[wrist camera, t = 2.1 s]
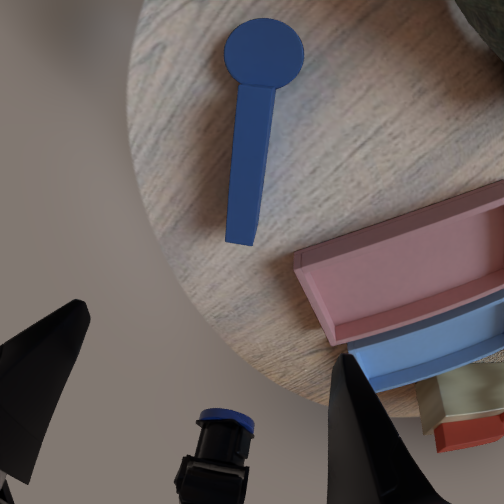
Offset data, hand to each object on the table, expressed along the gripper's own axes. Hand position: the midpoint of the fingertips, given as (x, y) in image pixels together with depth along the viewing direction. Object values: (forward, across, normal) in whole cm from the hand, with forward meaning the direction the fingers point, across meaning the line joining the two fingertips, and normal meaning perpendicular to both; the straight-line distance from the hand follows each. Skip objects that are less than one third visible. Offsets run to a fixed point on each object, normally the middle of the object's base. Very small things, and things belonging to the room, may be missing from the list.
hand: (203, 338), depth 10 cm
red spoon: (+4, -25, +14) cm, 29 cm away
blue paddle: (+10, 0, -5) cm, 11 cm away
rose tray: (+10, -12, +2) cm, 15 cm away
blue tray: (+10, -17, +8) cm, 21 cm away
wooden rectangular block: (+10, -25, +14) cm, 31 cm away
